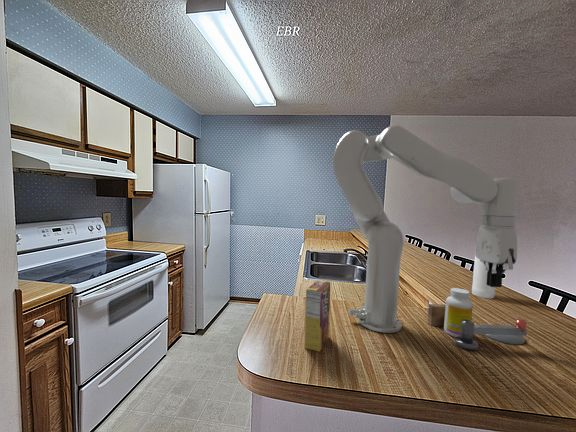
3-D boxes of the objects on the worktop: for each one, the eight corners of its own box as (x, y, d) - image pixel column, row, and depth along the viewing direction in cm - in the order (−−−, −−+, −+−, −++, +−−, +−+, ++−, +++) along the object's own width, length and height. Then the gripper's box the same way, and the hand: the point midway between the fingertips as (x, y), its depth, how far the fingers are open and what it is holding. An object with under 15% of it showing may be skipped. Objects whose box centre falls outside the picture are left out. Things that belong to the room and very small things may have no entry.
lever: (462, 349, 71) (465, 323, 71) (450, 339, 76) (452, 314, 76) (531, 351, 72) (534, 325, 71) (514, 341, 77) (517, 316, 76)
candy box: (314, 333, 77) (317, 279, 77) (329, 336, 76) (332, 282, 75) (302, 348, 69) (305, 288, 68) (319, 352, 68) (322, 291, 67)
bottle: (467, 292, 119) (472, 223, 117) (480, 291, 122) (486, 223, 120) (485, 299, 112) (491, 225, 110) (499, 298, 114) (505, 225, 112)
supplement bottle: (474, 340, 77) (478, 295, 76) (448, 337, 78) (451, 293, 77) (464, 329, 83) (467, 288, 83) (440, 327, 85) (443, 285, 84)
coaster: (496, 343, 75) (496, 341, 75) (468, 325, 86) (469, 323, 86) (535, 345, 76) (535, 342, 76) (503, 326, 87) (503, 324, 87)
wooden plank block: (430, 325, 85) (432, 306, 85) (427, 322, 87) (428, 304, 87) (468, 326, 86) (470, 307, 85) (464, 323, 88) (466, 305, 87)
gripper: (467, 220, 85) (463, 278, 86) (506, 224, 70) (501, 295, 71) (490, 220, 86) (487, 278, 87) (535, 224, 71) (530, 295, 72)
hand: (493, 286), depth 79 cm, fingers closed
